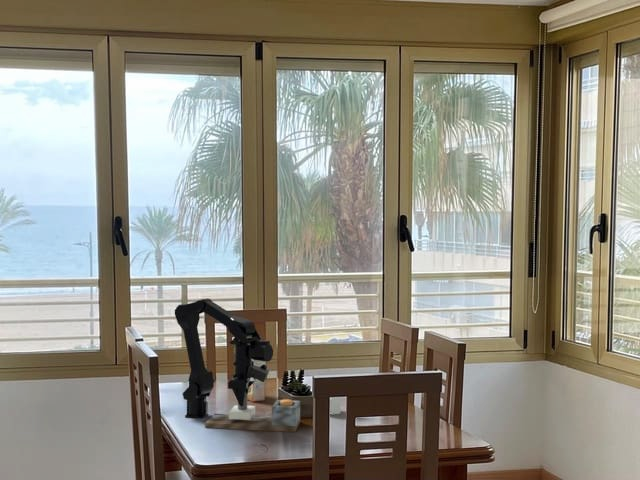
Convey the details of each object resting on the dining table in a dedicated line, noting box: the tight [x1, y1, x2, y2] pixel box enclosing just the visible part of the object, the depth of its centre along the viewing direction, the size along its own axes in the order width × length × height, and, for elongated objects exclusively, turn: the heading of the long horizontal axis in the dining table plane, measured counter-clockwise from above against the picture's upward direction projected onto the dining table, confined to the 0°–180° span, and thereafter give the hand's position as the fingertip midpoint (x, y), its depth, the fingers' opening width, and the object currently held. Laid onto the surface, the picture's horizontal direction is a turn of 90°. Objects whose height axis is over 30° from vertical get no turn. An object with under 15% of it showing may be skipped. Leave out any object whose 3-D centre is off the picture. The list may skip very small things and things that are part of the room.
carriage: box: [228, 393, 256, 420], centre depth 236 cm, size 7×9×7 cm
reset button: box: [280, 398, 292, 406], centre depth 235 cm, size 4×4×2 cm
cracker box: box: [247, 359, 267, 402], centre depth 274 cm, size 14×6×21 cm, turn 35°
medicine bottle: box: [330, 397, 342, 416], centre depth 253 cm, size 7×7×12 cm
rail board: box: [204, 399, 301, 433], centre depth 236 cm, size 30×12×8 cm, turn 84°
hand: (242, 404), depth 236 cm, fingers closed on carriage, 3 cm apart
